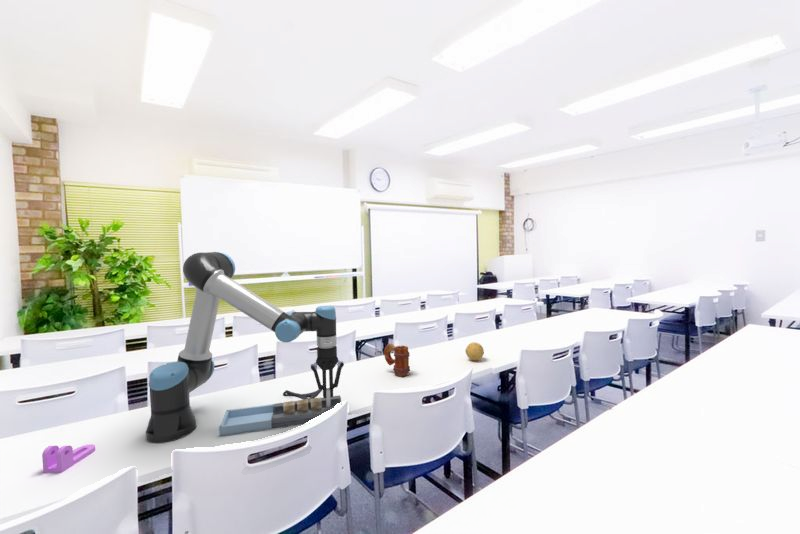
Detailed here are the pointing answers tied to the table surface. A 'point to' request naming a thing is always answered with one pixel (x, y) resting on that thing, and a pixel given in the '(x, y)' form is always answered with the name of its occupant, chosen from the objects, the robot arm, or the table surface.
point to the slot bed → (299, 413)
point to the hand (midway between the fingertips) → (328, 405)
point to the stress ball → (474, 351)
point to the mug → (398, 359)
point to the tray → (246, 420)
